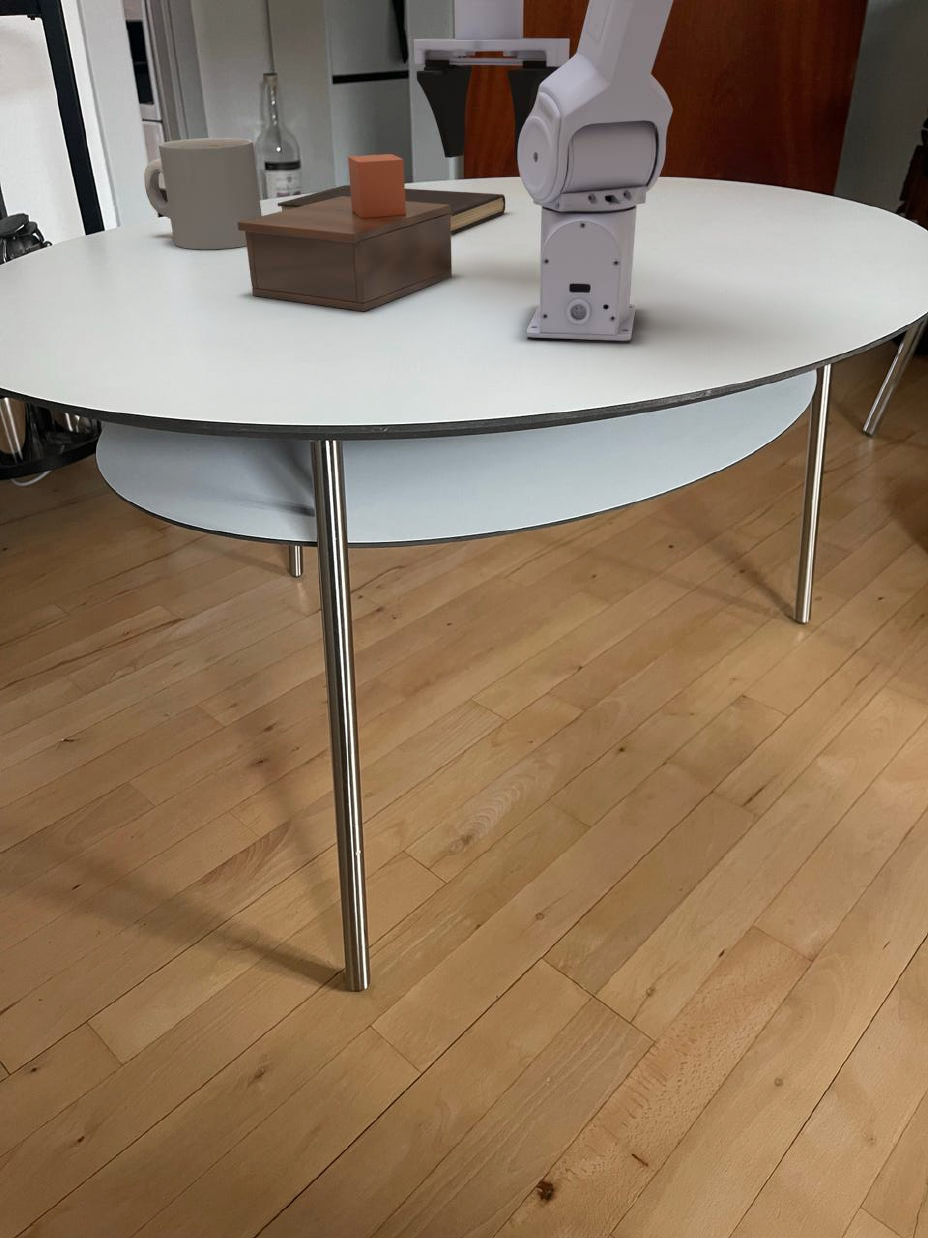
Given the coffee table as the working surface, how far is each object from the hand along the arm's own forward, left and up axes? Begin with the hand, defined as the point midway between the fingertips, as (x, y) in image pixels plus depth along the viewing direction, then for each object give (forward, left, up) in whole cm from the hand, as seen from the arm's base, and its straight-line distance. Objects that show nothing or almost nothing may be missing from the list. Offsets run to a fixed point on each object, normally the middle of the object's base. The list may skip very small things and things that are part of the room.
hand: (489, 158), depth 88 cm
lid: (-4, +12, -5) cm, 14 cm away
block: (-4, +9, -4) cm, 11 cm away
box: (-4, +12, -10) cm, 16 cm away
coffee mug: (+16, +35, -11) cm, 40 cm away
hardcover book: (+31, +17, -11) cm, 37 cm away
